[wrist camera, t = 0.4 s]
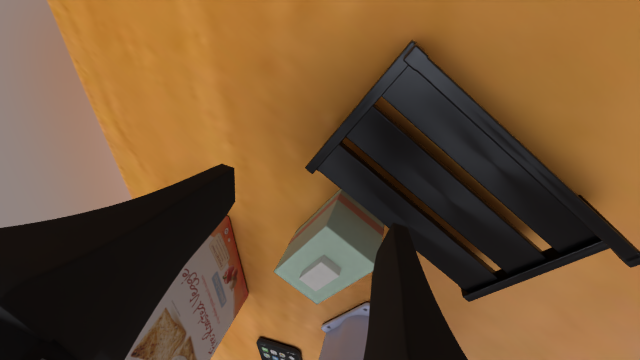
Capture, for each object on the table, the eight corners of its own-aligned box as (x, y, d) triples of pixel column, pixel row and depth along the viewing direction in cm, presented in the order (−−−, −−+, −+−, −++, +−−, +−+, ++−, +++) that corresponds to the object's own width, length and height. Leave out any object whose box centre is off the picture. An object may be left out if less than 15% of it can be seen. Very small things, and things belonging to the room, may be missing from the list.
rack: (460, 265, 23) (473, 323, 18) (320, 148, 21) (295, 179, 17) (589, 203, 17) (653, 264, 13) (411, 38, 16) (412, 41, 11)
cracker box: (252, 294, 36) (104, 543, 18) (215, 284, 37) (48, 504, 20) (232, 214, 29) (-37, 495, 11) (188, 206, 30) (-107, 441, 13)
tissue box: (332, 259, 27) (314, 312, 22) (295, 231, 27) (269, 278, 22) (385, 221, 23) (378, 276, 18) (342, 186, 22) (322, 232, 17)
